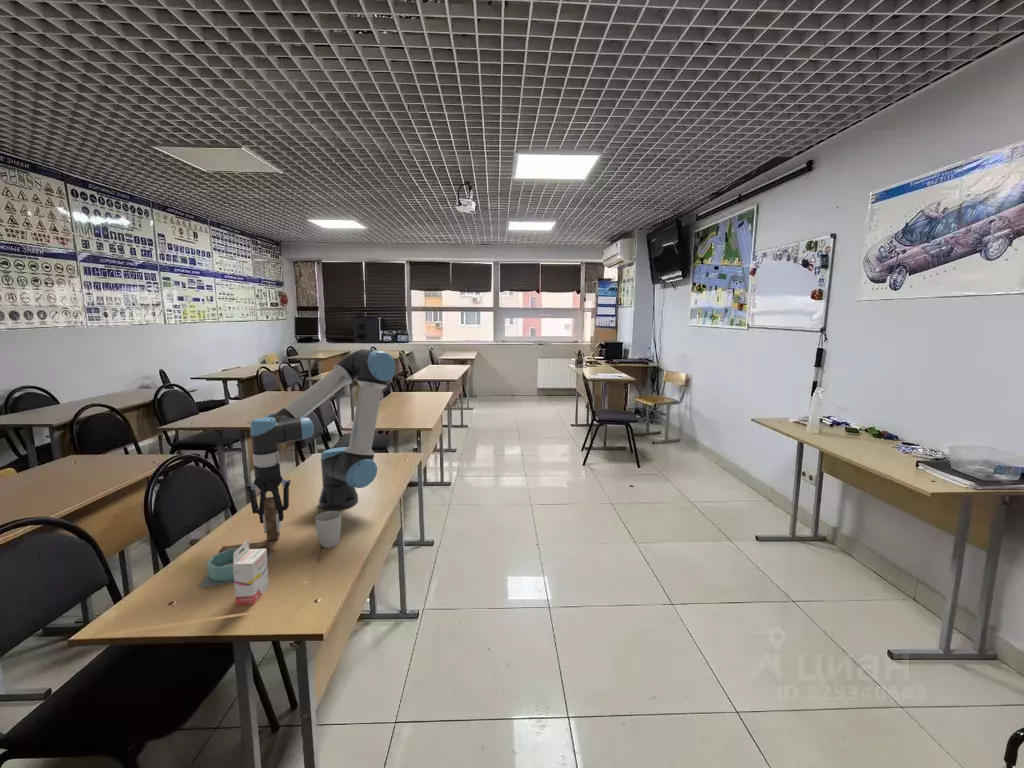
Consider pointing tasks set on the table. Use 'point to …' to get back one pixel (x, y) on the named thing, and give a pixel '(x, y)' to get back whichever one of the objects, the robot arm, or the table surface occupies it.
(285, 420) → the robot arm
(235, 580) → the ink cartridge box
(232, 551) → the teal octagonal bowl
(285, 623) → the table surface
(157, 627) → the table surface
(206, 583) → the slate board
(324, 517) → the cup
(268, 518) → the brown wooden block
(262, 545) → the long wooden bar
